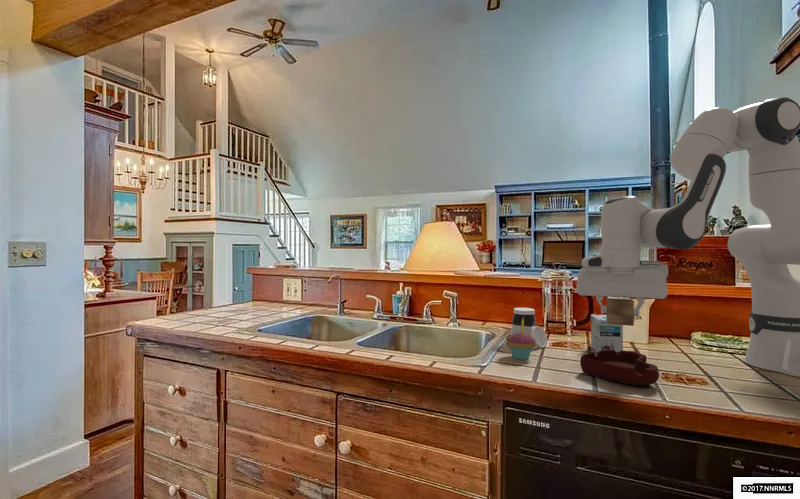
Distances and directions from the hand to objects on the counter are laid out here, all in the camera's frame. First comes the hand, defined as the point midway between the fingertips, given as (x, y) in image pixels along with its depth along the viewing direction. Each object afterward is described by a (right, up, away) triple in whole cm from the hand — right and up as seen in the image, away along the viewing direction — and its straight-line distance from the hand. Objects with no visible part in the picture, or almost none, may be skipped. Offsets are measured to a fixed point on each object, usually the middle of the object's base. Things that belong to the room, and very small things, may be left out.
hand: (619, 314), depth 101 cm
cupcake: (-20, -16, +17) cm, 31 cm away
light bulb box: (+9, -16, +24) cm, 30 cm away
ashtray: (-1, -16, 0) cm, 16 cm away
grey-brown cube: (0, -2, 0) cm, 2 cm away
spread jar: (-12, -16, +33) cm, 38 cm away
